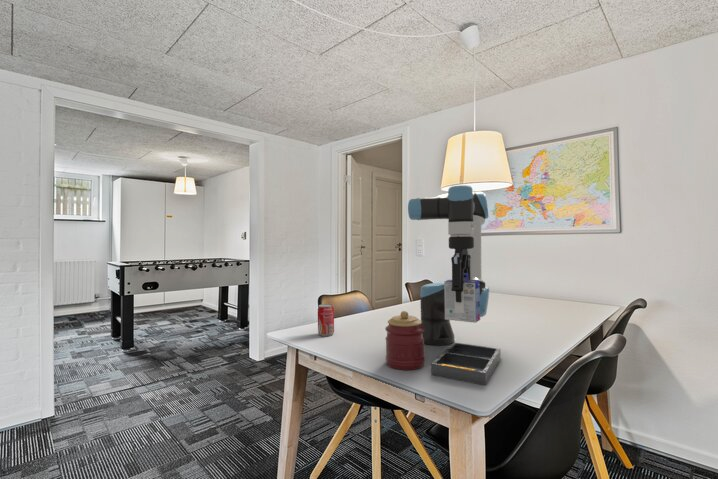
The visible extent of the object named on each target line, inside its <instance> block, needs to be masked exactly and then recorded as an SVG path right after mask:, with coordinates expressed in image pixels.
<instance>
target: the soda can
mask: <svg viewBox="0 0 718 479" xmlns="http://www.w3.org/2000/svg"><path fill="white" fill-rule="evenodd" d="M334 333H335V311H334V307H333V304H331V303H323V304H321V303H320V304H319V305H318V307H317V334H318V335H319V336H320V335H321V336H320V337H330V335H331V336H333V335H334Z"/></svg>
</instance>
